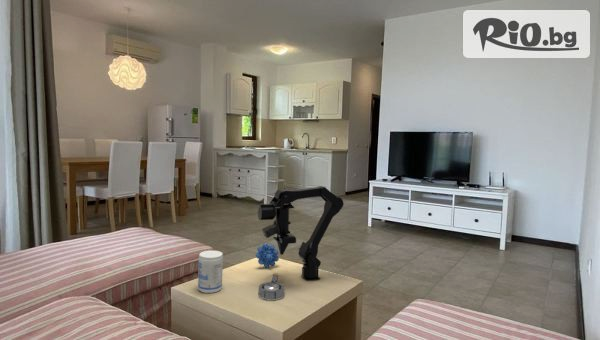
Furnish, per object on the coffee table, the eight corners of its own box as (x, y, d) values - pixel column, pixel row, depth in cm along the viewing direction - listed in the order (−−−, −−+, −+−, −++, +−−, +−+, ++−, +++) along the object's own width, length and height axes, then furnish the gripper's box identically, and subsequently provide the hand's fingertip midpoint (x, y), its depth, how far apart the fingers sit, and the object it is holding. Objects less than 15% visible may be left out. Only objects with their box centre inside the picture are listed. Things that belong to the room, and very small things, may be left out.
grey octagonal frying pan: (264, 279, 161) (264, 272, 161) (286, 281, 160) (287, 273, 160) (257, 297, 143) (257, 289, 143) (282, 299, 142) (282, 290, 142)
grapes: (258, 272, 172) (258, 246, 172) (253, 267, 179) (254, 242, 178) (281, 269, 177) (282, 244, 176) (276, 264, 183) (277, 240, 182)
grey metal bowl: (279, 288, 154) (279, 280, 154) (287, 298, 145) (287, 289, 144) (256, 291, 150) (256, 283, 150) (262, 302, 141) (262, 292, 141)
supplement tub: (193, 290, 149) (193, 254, 148) (208, 282, 158) (208, 248, 157) (212, 295, 146) (213, 258, 144) (227, 287, 154) (227, 252, 153)
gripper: (258, 215, 165) (257, 249, 167) (271, 224, 148) (270, 263, 149) (281, 214, 170) (281, 247, 171) (297, 223, 152) (296, 260, 154)
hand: (281, 254), depth 161 cm, fingers closed
